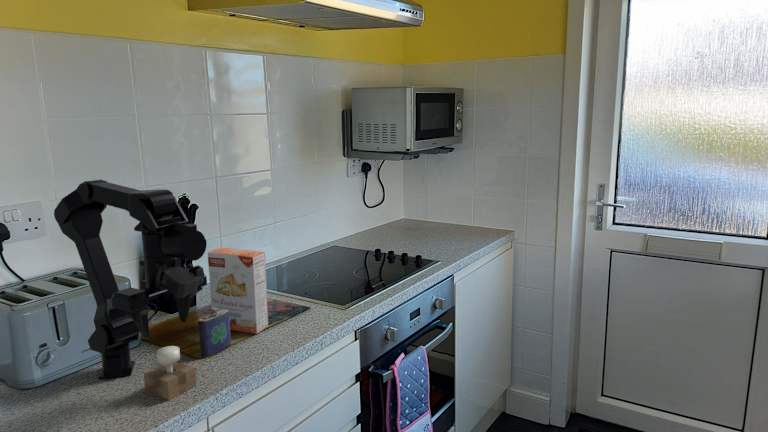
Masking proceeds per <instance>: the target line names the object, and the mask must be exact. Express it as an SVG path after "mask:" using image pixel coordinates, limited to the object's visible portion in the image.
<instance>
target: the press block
mask: <svg viewBox="0 0 768 432" xmlns="http://www.w3.org/2000/svg"><path fill="white" fill-rule="evenodd" d="M172 366H173V372H172V373H170V374H168V373H167V371H166V364H160V365H159V366H157V367H155V368H154V369H151V370H149V371H146V372H145V373H143V382H144V384H143V385H144V392H145V393H146V394H149V395H152V396H155V397H158V398H161V399H164V400H167V401H171V400H173V399H175V398H177V397H178V396H180V395H182V394H184V393H186V392H188V391H189V390H191V389H193V388H195V387H197V376H196V372H197V371H196V367H194V366H191V365H188V364H184V363H180V362H179V361H177V362H175V363H172Z"/></svg>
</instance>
